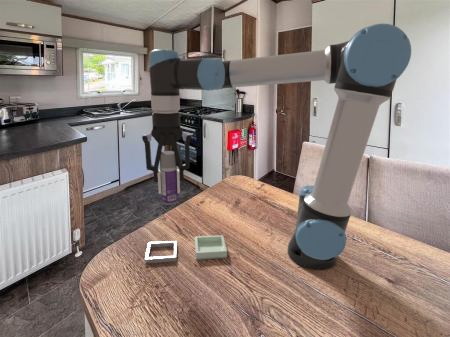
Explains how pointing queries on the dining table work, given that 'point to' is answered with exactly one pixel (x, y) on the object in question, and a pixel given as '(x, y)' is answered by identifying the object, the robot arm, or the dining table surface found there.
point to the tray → (210, 247)
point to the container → (168, 177)
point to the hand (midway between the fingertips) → (169, 191)
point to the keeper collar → (164, 258)
